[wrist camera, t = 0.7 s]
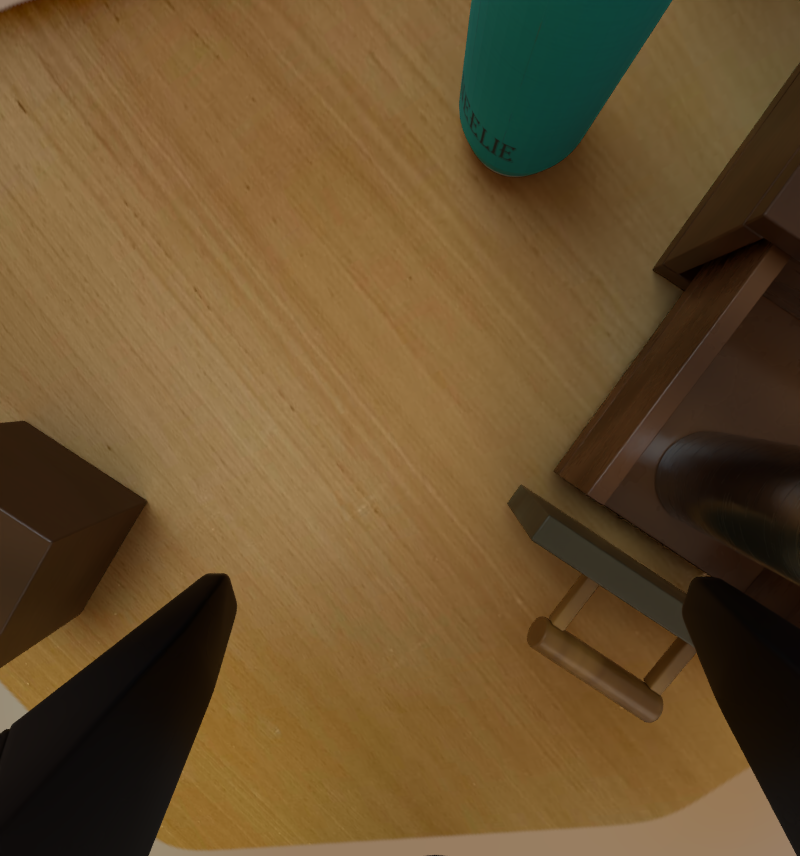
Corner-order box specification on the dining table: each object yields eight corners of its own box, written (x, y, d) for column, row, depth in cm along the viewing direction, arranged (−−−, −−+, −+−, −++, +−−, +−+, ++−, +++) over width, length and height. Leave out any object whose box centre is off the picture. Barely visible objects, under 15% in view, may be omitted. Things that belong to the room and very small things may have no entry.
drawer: (663, 705, 22) (732, 798, 17) (458, 569, 22) (468, 624, 17) (920, 398, 20) (1084, 403, 15) (693, 244, 19) (782, 198, 15)
